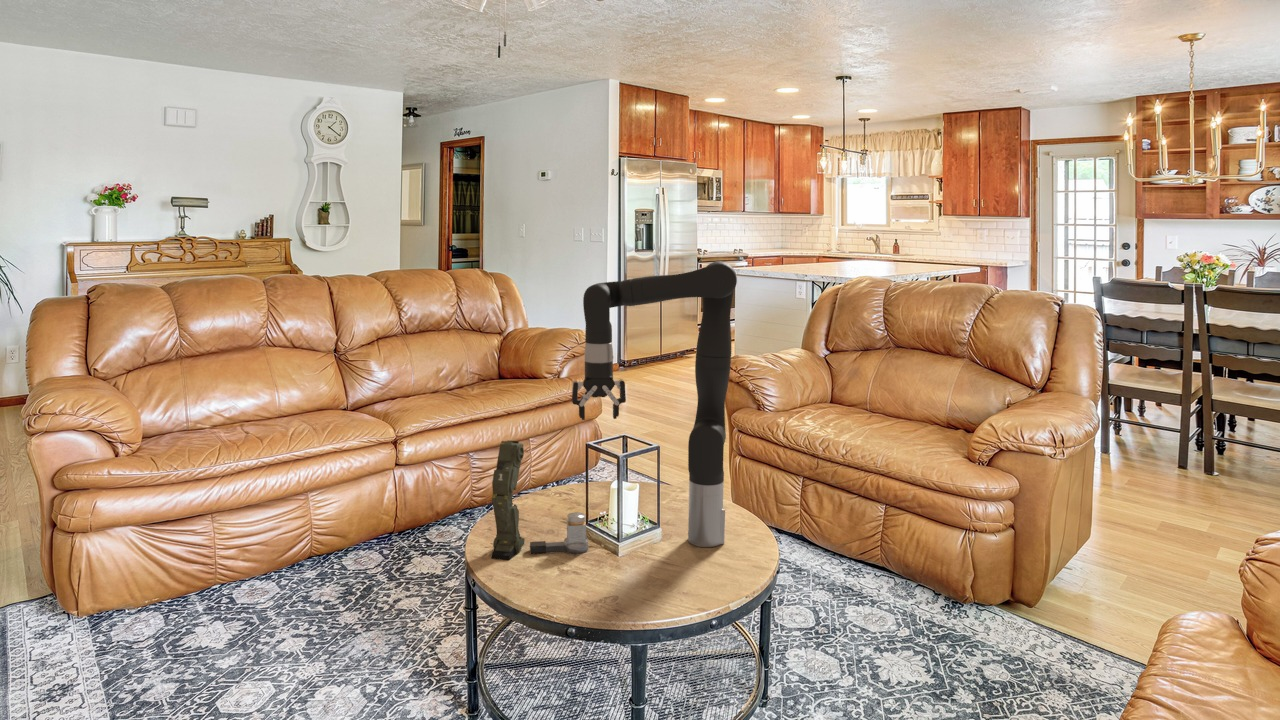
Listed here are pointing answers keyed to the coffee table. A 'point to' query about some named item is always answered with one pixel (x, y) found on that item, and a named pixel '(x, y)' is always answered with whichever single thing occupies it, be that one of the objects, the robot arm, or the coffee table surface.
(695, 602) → the coffee table surface
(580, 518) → the socket
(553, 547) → the ratchet
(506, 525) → the mechanical leg
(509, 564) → the coffee table surface
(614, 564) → the coffee table surface
